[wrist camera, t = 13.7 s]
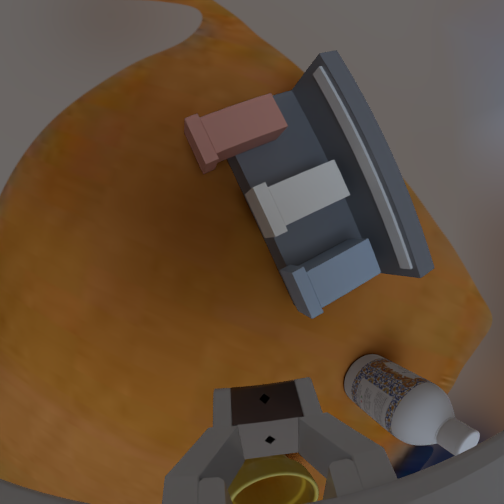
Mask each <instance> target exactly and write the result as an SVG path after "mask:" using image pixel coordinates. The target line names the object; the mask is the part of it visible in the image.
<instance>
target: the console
mask: <svg viewBox="0 0 504 504" xmlns="http://www.w3.org/2000/svg"><path fill="white" fill-rule="evenodd" d="M273 98H274V100H275V102H276V104H277V106H278V107H279V109H280V111H281V113H282V115H283V117H284V119H285V121H286V123H287V125H288V127H287V128H286V129H285V130H284V131H283V132H282V133H281V135H280V136H279V137H278V138H277V139H276V140H274V141H271V142H268V143H266V144H263V145H260V146H258V147H255V148H253V149H250V150H248V151H245V152H243V153H240V154H238V155H235V156H233V157H230V158H228V159H227V160H228V163H229V165H230V167H231V169H232V171H233V173H234V175H235V177H236V180H237V182H238V184H239V186H240V188H241V190H242V192H243V194H244V197H245V199H246V201H247V198H246V196H245V194H246V193H247V192H248V191H249V190H250V189H251V188H253V187H255V186H257V185H259V184H262V183H264V182H266V185H267V187H269V186H272V185H274V184H276V183H279V182H281V181H283V180H286V179H288V178H290V177H293V176H295V175H297V174H300V173H302V172H305V171H307V170H309V169H312V168H314V167H317V166H319V165H322V164H324V163H326V162H329V161H331V160H335V162H336V164H337V167H338V169H339V171H340V173H341V175H342V177H343V180H344V182H345V184H346V186H347V189H348V191H349V193H350V195H349V196H347V197H345V198H343V199H341V200H339V201H336V202H334V203H332V204H330V205H328V206H326V207H324V208H322V209H320V210H317V211H315V212H313V213H311V214H309V215H307V216H305V217H303V218H301V219H299V220H296V221H294V222H292V223H290V224H288V225H286V228H287V230H288V231H287V232H285V233H283V234H281V235H279V236H277V237H270V238H265V237H264V235H263V233H262V231H261V228H260V226H259V224H258V222H257V220H256V218H255V216H254V213H253V211H252V209H251V207H250V205H249V203H248V201H247V203H248V205H249V207H250V209H251V212H252V214H253V216H254V218H255V220H256V222H257V225H258V227H259V229H260V231H261V233H262V235H263V238H264V240H265V242H266V244H267V246H268V248H269V251H270V253H271V255H272V257H273V259H274V261H275V264H276V266H277V268H278V270H279V272H280V269H282V268H284V267H286V266H288V265H296V266H299V265H301V264H302V263H304V262H306V261H308V260H310V259H312V258H314V257H316V256H318V255H320V254H322V253H323V252H325V251H327V250H329V249H331V248H333V247H335V246H337V245H338V244H340V243H342V242H344V241H346V240H348V239H362V238H368V239H369V241H370V244H371V247H372V249H373V252H374V254H375V257H376V260H377V262H378V265H379V268H380V271H381V273H385V274H393V275H400V276H408V277H416V278H421V277H423V276H424V275H426V274H427V273H428V272H430V271H431V270H432V269H434V265H433V262H432V258H431V255H430V252H429V249H428V246H427V243H426V240H425V237H424V234H423V231H422V228H421V225H420V222H419V219H418V217H417V214H416V211H415V208H414V206H413V203H412V200H411V198H410V195H409V193H408V190H407V188H406V185H405V183H404V180H403V178H402V176H401V173H400V171H399V169H398V166H397V164H396V162H395V159H394V157H393V155H392V153H391V150H390V148H389V146H388V144H387V142H386V140H385V138H384V135H383V133H382V131H381V129H380V127H379V125H378V123H377V121H376V119H375V117H374V115H373V113H372V111H371V109H370V107H369V106H368V104H367V102H366V100H365V98H364V96H363V94H362V93H361V91H360V89H359V87H358V85H357V84H356V82H355V80H354V78H353V77H352V75H351V73H350V71H349V70H348V68H347V66H346V65H345V63H344V61H343V60H342V58H341V57H340V55H339V53H338V52H337V51H330V52H325V53H320V54H319V55H318V56H317V57H316V59H315V60H314V61H313V62H312V64H311V65H310V66H309V68H308V69H307V70H306V72H305V73H304V74H303V76H302V77H301V78H300V80H299V81H298V82H297V84H296V85H295V87H294V88H293V89H292V90H291V91H287V92H284V93H280V94H277V95H274V96H273ZM280 275H281V277H282V279H283V276H282V274H281V272H280ZM283 281H284V279H283ZM284 283H285V281H284ZM285 286H286V288H287V290H288V287H287V285H286V283H285ZM288 292H289V290H288ZM289 294H290V292H289ZM290 297H291V299H292V296H291V294H290ZM292 301H293V299H292ZM293 303H294V301H293ZM294 305H295V303H294ZM295 306H296V305H295Z"/></svg>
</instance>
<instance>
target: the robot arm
mask: <svg viewBox="0 0 504 504" xmlns="http://www.w3.org/2000/svg"><path fill="white" fill-rule="evenodd" d="M296 452H299V454H300V455H301V456H302V457H303V458H304V459H305V460H306V461H308V462H309V463H310V464H311V465H312V466H313V467H314V468H315V469H316V470H318V471H319V472H320V473H321V474H322V475H323V476H324V477H325V478H327V480H326V486H325V491H324V496H323V500H321V501H316V502H311V503H305V504H504V430H503V431H501V432H500V433H498V434H496V435H495V436H493V437H491V438H489V439H488V440H486V441H484V442H482V443H480V444H478V445H476V446H474V447H472V448H470V449H468V450H466V451H464V452H462V453H460V454H458V455H456V456H454V457H452V458H450V459H447V460H445V461H443V462H441V463H438V464H436V465H434V466H431V467H429V468H427V469H424V470H422V471H419V472H416V473H414V474H411V475H408V476H406V477H403V478H400V479H397V477H396V474H395V472H394V470H393V468H392V465H391V463H390V461H389V459H388V457H387V454H386V452H385V450H384V448H383V447H382V446H380V445H378V444H376V443H375V442H373V441H372V440H370V439H368V438H367V437H365V436H363V435H362V434H360V433H359V432H357V431H355V430H354V429H352V428H351V427H349V426H347V425H346V424H344V423H343V422H341V421H340V420H338V419H337V418H335V417H333V416H332V415H330V414H329V413H322V410H321V407H320V404H319V401H318V398H317V395H316V392H315V389H314V386H313V383H312V381H311V379H310V378H309V377H307V378H302V379H296V380H294V381H293V380H290V381H284V382H277V383H270V384H263V385H255V386H244V387H232V388H222V389H215V390H214V398H213V428H208V429H207V430H206V431H205V432H204V433H203V435H202V436H201V437H200V438H199V439H198V440H197V442H196V443H195V444H194V445H193V446H192V447H191V448H190V450H189V451H188V452H187V453H186V454H185V455H184V456H183V458H182V459H181V460H180V461H179V462H178V463H177V464H176V465H175V466H174V468H173V469H172V470H171V471H170V472H169V473H168V474H167V475H166V476H165V482H164V491H163V500H162V504H233V503H232V500H231V498H230V495H229V492H228V488H229V486H230V484H231V483H232V481H233V480H234V478H235V476H236V475H237V473H238V471H239V470H240V468H241V466H242V465H243V463H244V461H245V459H251V458H258V457H266V456H273V455H281V454H289V453H296ZM0 504H89V503H84V502H79V501H75V500H70V499H66V498H61V497H57V496H53V495H50V494H46V493H42V492H39V491H35V490H32V489H29V488H25V487H22V486H19V485H16V484H13V483H10V482H8V481H5V480H2V479H0Z"/></svg>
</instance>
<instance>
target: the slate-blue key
mask: <svg viewBox="0 0 504 504" xmlns="http://www.w3.org/2000/svg"><path fill="white" fill-rule="evenodd" d="M280 272H281V274H282V276H283V279H284V281H285V283H286V285H287V287H288V290H289V292H290V294H291V296H292V299H293V301H294V303H295V305H296V307H297V310H298V311H299V312H301V313H303V314H304V315H306V316H308V317H310V318H312V319H313V318H314V317H316V316H318V315H320V314H321V313H323V310H322V307H324V306H326V305H328V304H329V303H331V302H333V301H334V300H336V299H338V298H340V297H341V296H343V295H345V294H346V293H348V292H350V291H351V290H353V289H355V288H356V287H358V286H360V285H361V284H363V283H365V282H366V281H368V280H370V279H371V278H373V277H374V276H376V275H378V274H379V273H381V271H380V268H379V265H378V262H377V260H376V257H375V254H374V252H373V249H372V247H371V244H370V241H369V239H368V238H362V239H348V240H346V241H344V242H342V243H340V244H338V245H337V246H335V247H333V248H331V249H329V250H327V251H325V252H323V253H322V254H320V255H318V256H316V257H314V258H312V259H310V260H308V261H306V262H304V263H302V264H301V265H299V266H296V265H288V266H286V267H284V268H282V269H280Z"/></svg>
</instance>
